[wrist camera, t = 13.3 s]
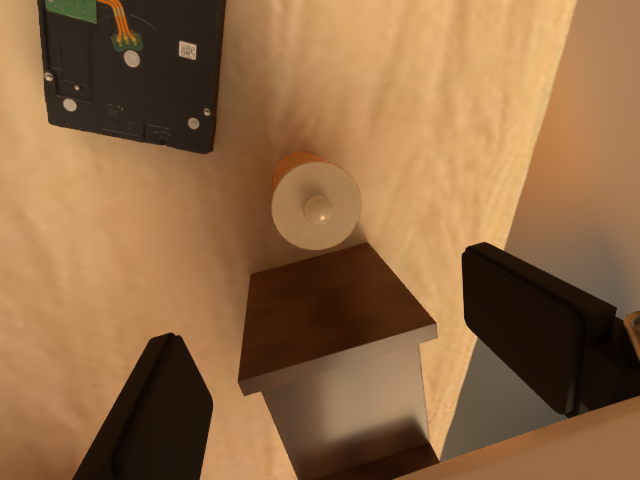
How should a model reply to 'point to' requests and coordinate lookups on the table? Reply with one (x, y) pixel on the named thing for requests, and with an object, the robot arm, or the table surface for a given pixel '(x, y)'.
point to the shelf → (340, 365)
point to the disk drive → (134, 68)
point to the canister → (313, 201)
